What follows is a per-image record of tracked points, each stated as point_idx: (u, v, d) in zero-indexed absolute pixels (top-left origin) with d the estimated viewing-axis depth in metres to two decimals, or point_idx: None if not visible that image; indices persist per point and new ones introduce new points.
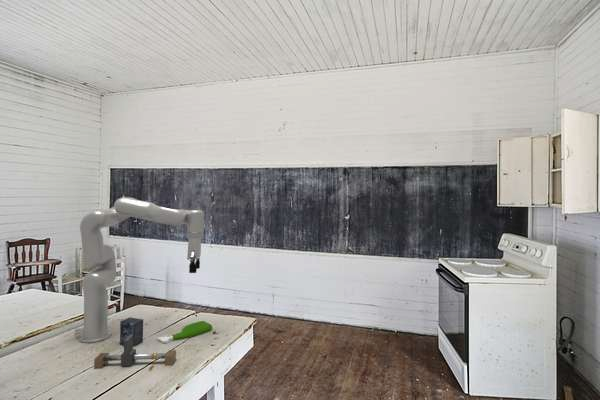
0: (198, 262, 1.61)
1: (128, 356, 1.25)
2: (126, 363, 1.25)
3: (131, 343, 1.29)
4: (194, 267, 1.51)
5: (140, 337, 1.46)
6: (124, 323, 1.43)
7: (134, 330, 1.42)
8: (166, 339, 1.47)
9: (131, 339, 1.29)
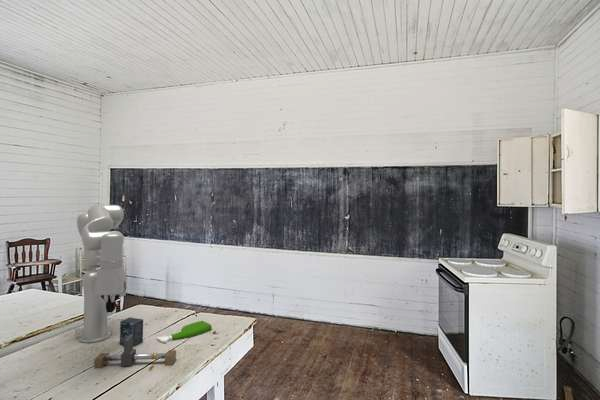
0: None
1: (128, 356, 1.25)
2: (126, 363, 1.25)
3: (131, 343, 1.29)
4: None
5: (140, 337, 1.46)
6: (124, 323, 1.43)
7: (134, 330, 1.42)
8: (165, 339, 1.47)
9: (131, 339, 1.29)
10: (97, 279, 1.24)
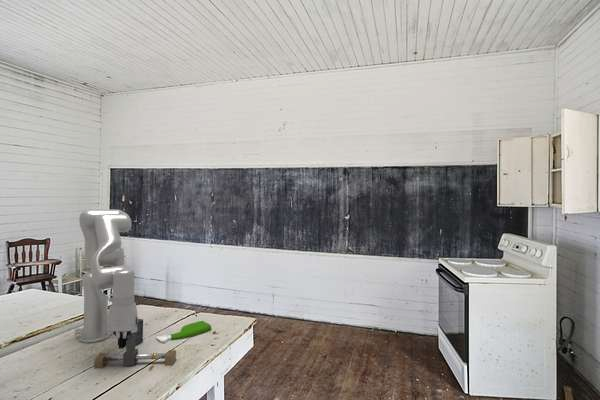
0: None
1: (131, 356, 1.25)
2: (128, 363, 1.25)
3: (133, 343, 1.29)
4: None
5: (140, 337, 1.46)
6: None
7: None
8: (164, 339, 1.47)
9: (133, 339, 1.29)
10: (109, 316, 1.24)
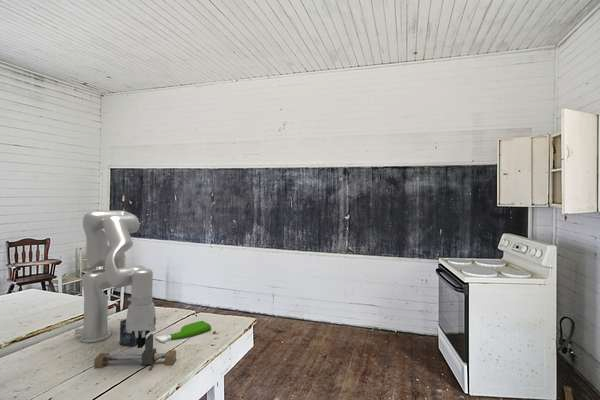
0: None
1: (149, 355, 1.26)
2: (147, 362, 1.26)
3: (151, 342, 1.30)
4: None
5: None
6: (124, 323, 1.43)
7: None
8: (164, 338, 1.47)
9: (151, 338, 1.30)
10: (128, 315, 1.25)
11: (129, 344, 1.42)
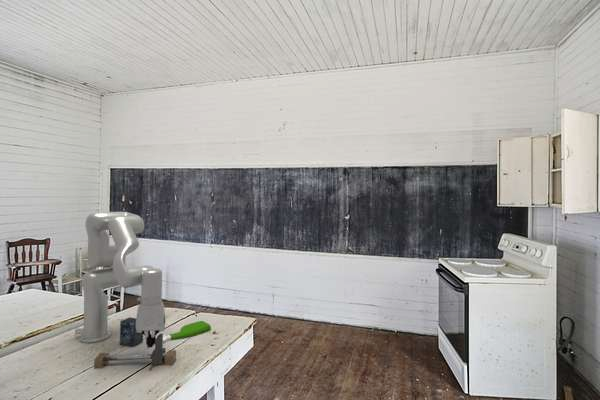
0: None
1: (159, 355, 1.27)
2: (157, 362, 1.27)
3: (161, 342, 1.30)
4: None
5: (140, 337, 1.46)
6: (124, 323, 1.43)
7: (134, 330, 1.42)
8: (164, 338, 1.48)
9: (161, 338, 1.30)
10: (138, 315, 1.25)
11: (129, 344, 1.42)
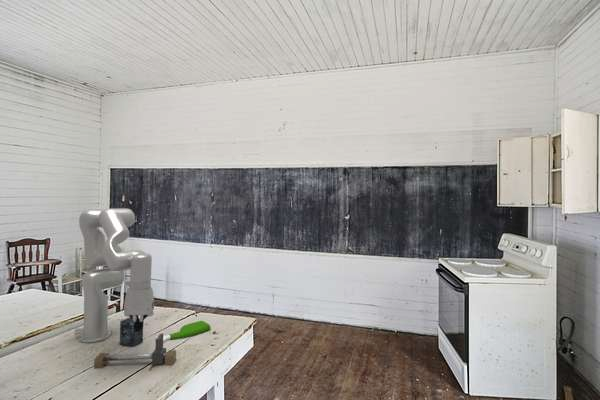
0: None
1: (160, 355, 1.27)
2: (157, 362, 1.27)
3: (161, 342, 1.30)
4: None
5: (140, 337, 1.46)
6: (124, 323, 1.43)
7: (134, 330, 1.42)
8: (163, 338, 1.48)
9: (161, 338, 1.30)
10: (126, 299, 1.25)
11: (129, 344, 1.42)
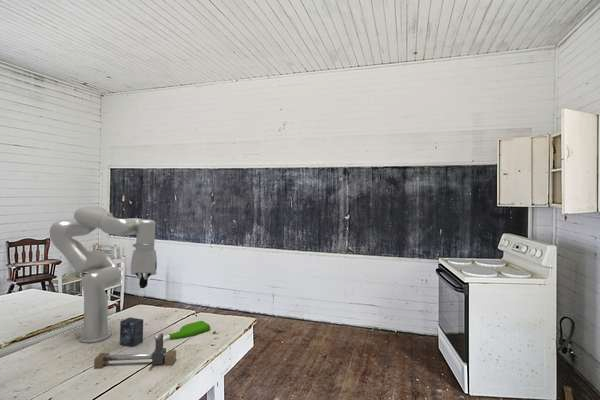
0: None
1: (160, 355, 1.27)
2: (157, 362, 1.27)
3: (161, 342, 1.30)
4: None
5: (140, 337, 1.46)
6: (124, 323, 1.43)
7: (134, 330, 1.42)
8: (163, 338, 1.48)
9: (161, 338, 1.30)
10: (133, 259, 1.43)
11: (129, 344, 1.42)
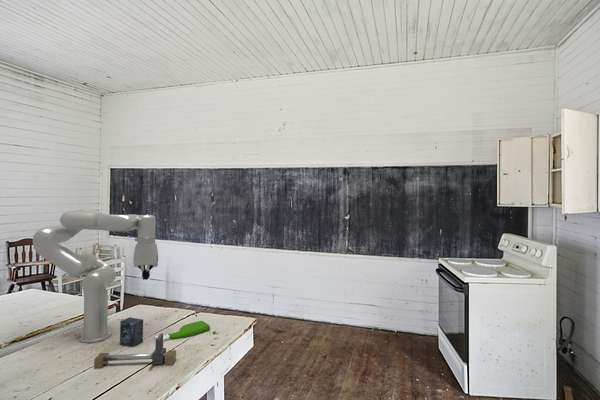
0: None
1: (160, 355, 1.27)
2: (157, 362, 1.27)
3: (161, 342, 1.30)
4: None
5: (140, 337, 1.46)
6: (124, 323, 1.43)
7: (134, 330, 1.42)
8: None
9: (161, 338, 1.30)
10: (135, 252, 1.51)
11: (129, 344, 1.42)
